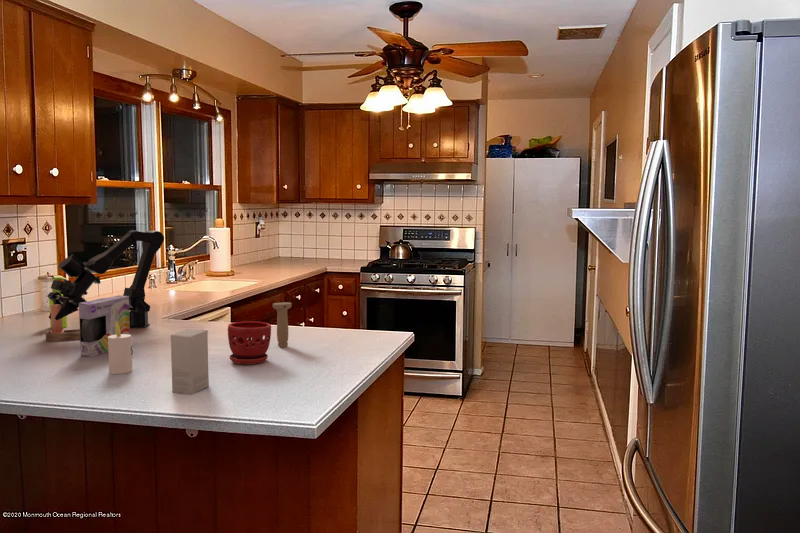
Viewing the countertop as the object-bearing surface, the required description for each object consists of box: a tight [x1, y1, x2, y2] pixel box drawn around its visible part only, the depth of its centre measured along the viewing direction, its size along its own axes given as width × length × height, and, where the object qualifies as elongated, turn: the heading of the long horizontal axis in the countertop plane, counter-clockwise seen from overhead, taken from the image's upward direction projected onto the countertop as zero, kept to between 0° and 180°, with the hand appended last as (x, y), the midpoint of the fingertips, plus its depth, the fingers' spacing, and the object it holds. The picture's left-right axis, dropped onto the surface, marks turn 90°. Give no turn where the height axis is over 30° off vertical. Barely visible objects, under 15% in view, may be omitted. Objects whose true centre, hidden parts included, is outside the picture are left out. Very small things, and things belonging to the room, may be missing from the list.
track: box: [45, 328, 80, 343], centre depth 247 cm, size 16×7×4 cm, turn 116°
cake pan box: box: [78, 294, 131, 358], centre depth 225 cm, size 19×5×18 cm, turn 160°
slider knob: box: [49, 304, 65, 334], centre depth 245 cm, size 4×5×11 cm
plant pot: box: [227, 321, 272, 366], centre depth 210 cm, size 13×13×12 cm
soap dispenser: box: [48, 276, 68, 329], centre depth 268 cm, size 6×7×20 cm
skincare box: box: [170, 328, 210, 395], centre depth 178 cm, size 8×7×16 cm
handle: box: [272, 301, 292, 348], centre depth 232 cm, size 5×6×15 cm
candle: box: [107, 321, 134, 375], centre depth 198 cm, size 6×6×15 cm
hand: (52, 319), depth 244 cm, fingers closed on slider knob, 4 cm apart
